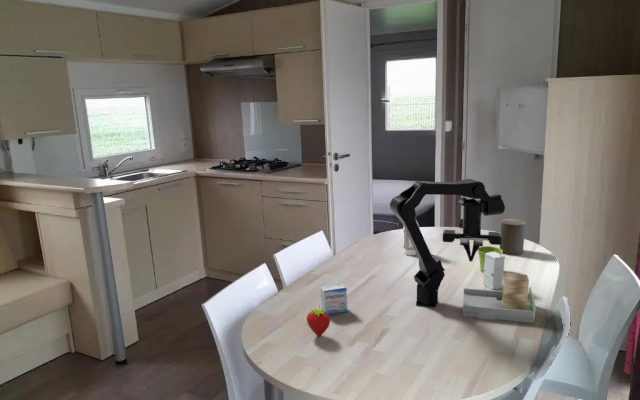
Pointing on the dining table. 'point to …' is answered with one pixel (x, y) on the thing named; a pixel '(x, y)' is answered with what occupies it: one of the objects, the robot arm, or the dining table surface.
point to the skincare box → (493, 270)
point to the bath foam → (408, 244)
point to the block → (515, 291)
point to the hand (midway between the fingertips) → (470, 261)
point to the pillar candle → (512, 236)
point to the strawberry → (318, 321)
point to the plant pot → (484, 250)
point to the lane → (495, 306)
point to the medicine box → (334, 299)
